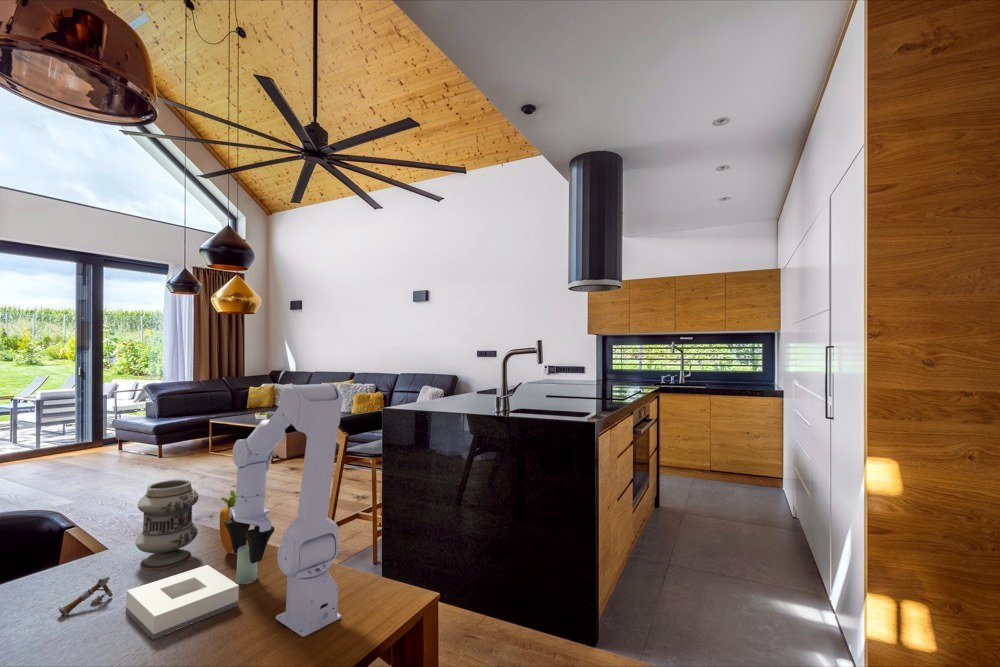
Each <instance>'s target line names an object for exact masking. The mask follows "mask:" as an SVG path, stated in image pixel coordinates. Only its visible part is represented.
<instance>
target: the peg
mask: <svg viewBox="0 0 1000 667" xmlns="http://www.w3.org/2000/svg"><path fill="white" fill-rule="evenodd" d="M236 554H237V555H236V556H237V558H236V574H235V575H236V576H235V583H240V584H244V583H248V582H252V581H254V580H255V579H256V578H257V579H258V563H259V562H256V563H251V562H250V556H249V545H248V544H246V545H244V546H241V547H239V548H238V552H237V553H236Z"/></svg>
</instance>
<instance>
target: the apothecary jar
mask: <svg viewBox="0 0 1000 667" xmlns="http://www.w3.org/2000/svg"><path fill="white" fill-rule="evenodd" d="M146 489H147V490H146V493H145V494H144V495H143V496H142V497H141V498H140V499H139V501H138V502H137V509H138V510H139V511H140V512H141V513H143V521H142V522H143V526H142V531H141V532H140V533H139V534H138V535H137V536H136V539H135V546H136V548H137V549H138V550H140V551H141V552H144V553H147V554H149V556H147V557H145V558H143V559H142V560H141V562H140V564H139V566H140V568H141V569H144V570H146V571H157V569H159V570H165V569H170V568H172V567H173V566H174V567H176V565H177V566H179V565H182V564H184V563H186V562H187V561H188V560H190V559H191V557H192V553H191V552H190V550H187V549H182V548H184V547H186V546H187V545H189V544H191V543H192V542H193V541H194V540H195V539H196V537H197V535H198V533H199V532H198V527H197V525H196V524H195V523H194V522H193V517H192V516H193V512H192V511H193V506H194V505H195V504H196V503H197V502H198V500H199V494H198V492H197V490H196V489H193V487H192V482H191V480H189V479H169V480H163V481H159V482H158V481H157V482H154V483H152V484H149V485H148V487H147V488H146ZM189 558H190V559H189ZM185 561H186V562H185ZM169 567H170V568H169ZM174 567H173V568H174Z"/></svg>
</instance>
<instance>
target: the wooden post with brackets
mask: <svg viewBox="0 0 1000 667" xmlns="http://www.w3.org/2000/svg"><path fill="white" fill-rule="evenodd" d="M110 579H111V577H109V576H106V577H102V578H99V579H98V580H97V581H98V582H96V584H95V585H93V586H92V587H91V588H88V589H87V591H84V592H83V593H81V595H79V596H78V598H76V599H74V600H73V601H72V602H69V603H68V604H67V605H65V606H63V607H61V606H59V607H57V609H58V611H59V613H60V614H61V616H62V615H64V616H65V617H66V618H68V617H70V615H69V614H70V613H71V612H72V611H73V610H74V609H76V607H77V606H78V605H79V604H81V603H82V602H84V601H86V600H87V599H89V598H90V597H91V596H92V595H94V593H95V592H96V591H101V592H102V591H104V594H101V595H97V597H95V598H94V599H91V603H90V604H89V606H92V607H93V606H94V605H95V606H96V605H98V604H99V603H100V602H103V598H105V596H106V595H107V596H108V597H109V598H111V597H113V596H114V595H113V592H112V590H111V589H110V588H109V587H108V585H107V584H108V583H109V580H110Z"/></svg>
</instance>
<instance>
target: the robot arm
mask: <svg viewBox="0 0 1000 667" xmlns="http://www.w3.org/2000/svg"><path fill="white" fill-rule="evenodd" d="M279 394H280V395H279V406H278V407H277V409H276V410H275V412H273V414H272V416H271V417H270V418H267V419H262V420H260V421H259V424H258V425H257V426H256V427H255V428H254V430H253V431H252V432H251V433H250V434H249V436H248V437H247V438H243V439H241V438H240V439H237V440H236V441H235V443H234V445H233V448H232V460H233V463H234V466H236V468H237V469H236V484H235V486H236V488H235V494H236V502H235V507H231V508H230V509H229V516H230V517H232V518H231V520H227V521H225V522H224V525H225V526H226V528H227V530H228V532H229V535H230V538H231V543H232V548H233V550H232V552H233V554H237V552H238V548H239V547H241V546H244V545H249V556H250V562H251V563H256V562H258V563H259V562H261V561H263V556H264V553H265V551H266V548H267V544H268V542H269V540H270V539H271V537H272V535H273V533H274V532H275V527H274V526H273V525H272V520H271V519H269V516H267V515H268V514H270V510H269V509H268V508H265V504H266V503H265V502H266V501H265V500H266V487H267V486H266V485H267V483H266V482H267V472H268V471H269V469H270V463H271V460H272V459H273V455H274V451H273V450H274V449H275V448H276V447H277V446H278V445H279V444H280V443H281V442H282V441H283V439H284V438H285V436H286V429H288V427H289V426H290V425H292V426H293V427H294V428H295V430H296V431H298V432H300V433H303V434H304V435H305V436H306V443H305V444H306V445H305V451H304V460H303V468H302V476H301V484H300V491H299V498H298V499H299V500H298V507H297V517H295V518H296V519H295V520H293V522H291V524H289V526H288V527H286V529H285V530H284V531H283V534H282V540H281V543H280V544H279V547H278V549H277V554H276V558H277V564H278V567H279V569H280V571H281V572H282V573H283V574H284V575H285V576H287V577H286V597H285V601H286V602H285V611H282V613H279V614H277V615H276V616H275V620H277V621H278V622H279V623H280V624H283V625H284V626H286V627H287V628H288V629H290V630H291V631H293V632H295V633H296V634H297V635H299V636H301V637H303V638H304V637H306V636H309V635H310V634H313V633H315V632H316V631H318V630H320V629H322V628H324V627H326V626H328V625H329V624H332V623H334V622H335V621H337V620H340V619H341V617H342V615H341V614H340V613H339V612H338V608H339V607H338V604H339V585H338V582H337V581H336V579H334V578H333V576H332V575H331V574H330V570H329V568H331V567H332V566H333V561H334V560H335V559H336V558H337V556H338V554H339V549H340V541H339V540H340V539H339V536H338V535H339V534H338V533H339V526H338V524H337V523H336V522H335V521H334V520H333V519H331V518H330V517H328V512H329V504H330V494H331V489H332V488H331V487H332V478H333V472H334V471H333V470H334V464H335V456H336V450H337V448H336V447H337V440H338V430H339V426H340V425H341V423H340V422H341V416H342V409H343V408H342V407H343V401H344V397H343V395H342V392H340V389H339V388H338V386H337V385H336V384H335V383H333V382H327V383H315V384H313V383H312V384H287V385H286V386H285V387H284V388H283V390H282V391H281V392H280V393H279ZM251 526H253V528H251ZM250 528H251V529H250Z"/></svg>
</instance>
